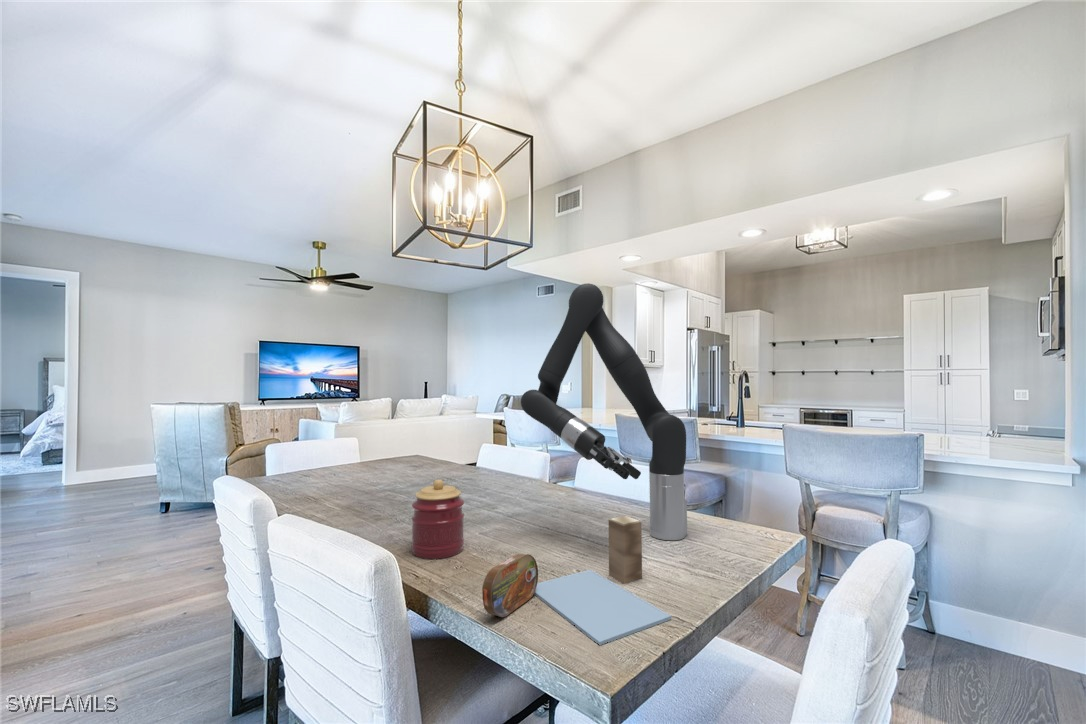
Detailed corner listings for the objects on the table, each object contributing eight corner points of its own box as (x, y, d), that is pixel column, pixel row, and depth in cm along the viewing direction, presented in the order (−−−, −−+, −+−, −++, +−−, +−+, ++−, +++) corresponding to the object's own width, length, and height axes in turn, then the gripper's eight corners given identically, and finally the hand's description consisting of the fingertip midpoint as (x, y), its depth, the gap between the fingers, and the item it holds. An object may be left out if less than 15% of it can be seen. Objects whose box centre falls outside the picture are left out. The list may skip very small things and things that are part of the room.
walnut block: (626, 570, 104) (625, 515, 105) (642, 578, 100) (641, 520, 100) (609, 575, 102) (608, 518, 102) (624, 584, 97) (623, 524, 98)
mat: (590, 572, 103) (590, 569, 103) (671, 619, 83) (671, 615, 83) (527, 588, 95) (527, 585, 95) (599, 645, 75) (599, 641, 75)
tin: (493, 625, 81) (492, 575, 81) (479, 621, 82) (478, 572, 83) (540, 592, 93) (538, 549, 94) (527, 589, 95) (525, 547, 96)
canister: (440, 563, 109) (440, 487, 109) (399, 553, 115) (400, 481, 116) (474, 546, 120) (474, 477, 121) (436, 538, 126) (436, 472, 127)
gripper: (579, 423, 114) (633, 462, 106) (600, 428, 126) (650, 464, 118) (563, 448, 114) (615, 489, 106) (585, 451, 127) (634, 488, 118)
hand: (633, 476), depth 112 cm, fingers open, 8 cm apart
